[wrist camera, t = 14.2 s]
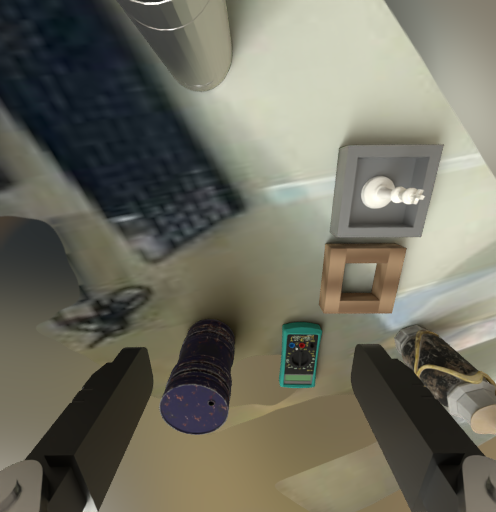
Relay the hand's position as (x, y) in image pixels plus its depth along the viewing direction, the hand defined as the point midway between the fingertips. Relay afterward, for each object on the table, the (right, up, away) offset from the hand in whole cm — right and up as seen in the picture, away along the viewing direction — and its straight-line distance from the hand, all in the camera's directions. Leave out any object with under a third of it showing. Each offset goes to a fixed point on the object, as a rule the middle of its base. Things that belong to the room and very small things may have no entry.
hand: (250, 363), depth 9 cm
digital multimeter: (+10, -16, +39) cm, 43 cm away
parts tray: (+20, +14, +28) cm, 37 cm away
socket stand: (+19, +1, +33) cm, 38 cm away
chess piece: (+20, +14, +27) cm, 37 cm away
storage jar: (-8, -13, +37) cm, 40 cm away
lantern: (+32, -13, +37) cm, 51 cm away
